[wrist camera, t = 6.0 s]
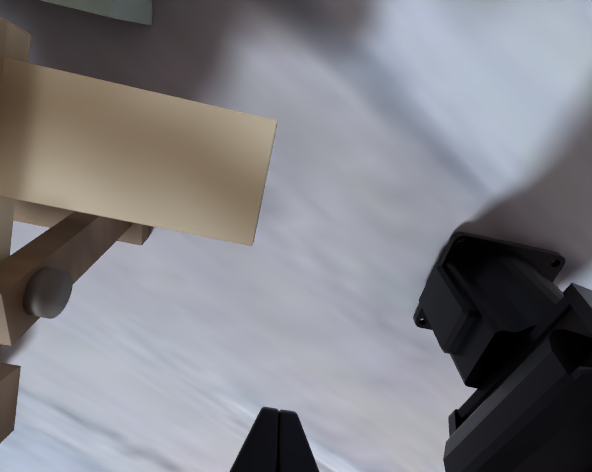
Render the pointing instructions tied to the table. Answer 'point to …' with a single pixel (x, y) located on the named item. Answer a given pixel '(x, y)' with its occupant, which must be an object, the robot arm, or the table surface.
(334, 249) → the table surface
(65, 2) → the bin
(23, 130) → the tipping lever
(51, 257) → the lever stand
